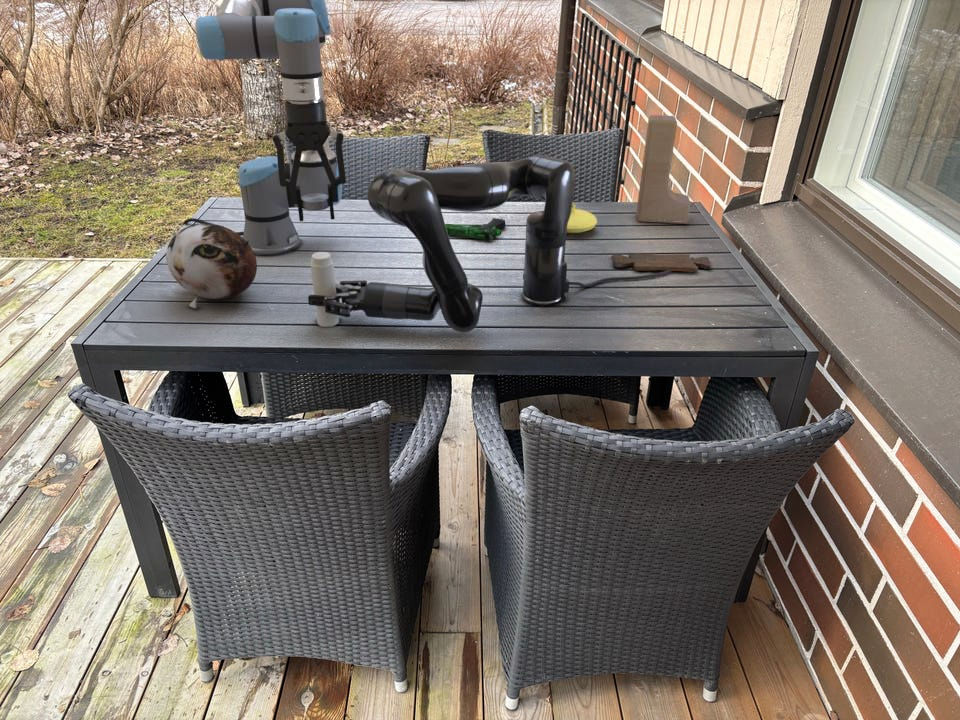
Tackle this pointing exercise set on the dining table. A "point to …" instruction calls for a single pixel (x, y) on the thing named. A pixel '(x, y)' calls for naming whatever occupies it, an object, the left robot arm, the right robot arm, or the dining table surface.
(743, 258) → the dining table surface
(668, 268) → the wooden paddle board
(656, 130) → the decorative block
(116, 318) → the dining table surface
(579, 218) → the yellow rounded piece
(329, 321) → the jar
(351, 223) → the dining table surface
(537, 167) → the right robot arm
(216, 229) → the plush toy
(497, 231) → the handgun
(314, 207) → the lid
